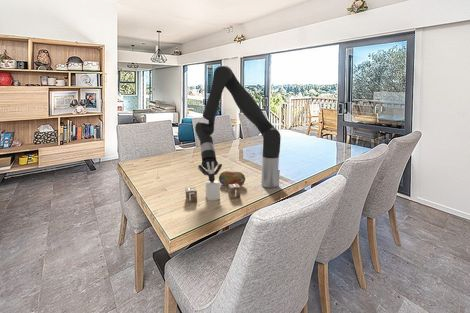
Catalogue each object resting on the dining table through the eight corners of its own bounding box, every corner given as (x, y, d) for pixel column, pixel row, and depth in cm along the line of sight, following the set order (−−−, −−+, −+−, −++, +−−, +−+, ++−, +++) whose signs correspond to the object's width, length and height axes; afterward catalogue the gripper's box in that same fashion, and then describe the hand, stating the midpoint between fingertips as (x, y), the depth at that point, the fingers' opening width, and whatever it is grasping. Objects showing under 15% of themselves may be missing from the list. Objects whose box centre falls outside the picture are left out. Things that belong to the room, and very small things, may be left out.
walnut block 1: (237, 194, 142) (237, 183, 140) (240, 198, 137) (240, 186, 135) (228, 195, 140) (228, 184, 139) (230, 199, 136) (230, 187, 134)
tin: (218, 185, 155) (218, 171, 153) (220, 183, 158) (220, 169, 156) (244, 187, 151) (244, 173, 149) (245, 185, 154) (245, 171, 152)
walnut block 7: (195, 198, 136) (195, 186, 135) (197, 202, 131) (196, 190, 130) (185, 199, 135) (185, 187, 133) (186, 203, 130) (186, 191, 129)
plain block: (217, 194, 141) (216, 180, 139) (219, 199, 135) (219, 184, 133) (205, 195, 139) (205, 181, 137) (208, 200, 134) (207, 185, 132)
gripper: (196, 149, 139) (199, 179, 130) (221, 148, 143) (226, 177, 134) (195, 157, 145) (198, 186, 137) (219, 156, 149) (223, 184, 140)
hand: (212, 181), depth 135 cm, fingers closed
